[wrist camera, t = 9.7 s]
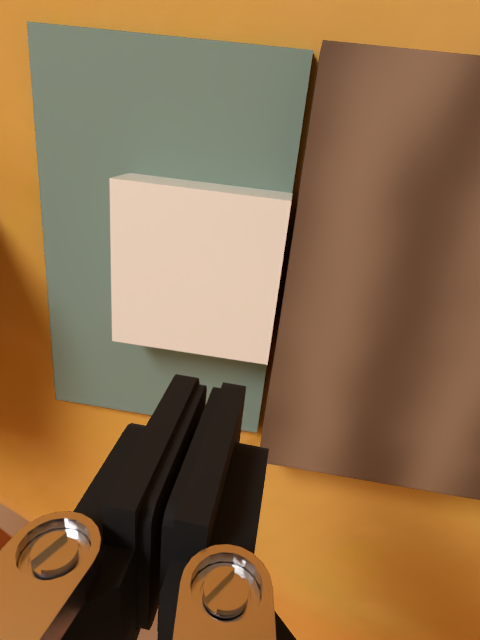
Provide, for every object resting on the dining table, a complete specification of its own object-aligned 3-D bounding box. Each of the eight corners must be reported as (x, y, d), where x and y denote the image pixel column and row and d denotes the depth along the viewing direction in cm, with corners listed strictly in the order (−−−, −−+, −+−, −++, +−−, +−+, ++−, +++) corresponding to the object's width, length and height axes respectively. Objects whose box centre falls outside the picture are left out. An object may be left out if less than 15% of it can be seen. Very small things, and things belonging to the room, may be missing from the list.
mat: (312, 52, 19) (313, 50, 19) (257, 427, 27) (256, 432, 27) (32, 24, 20) (26, 21, 20) (59, 394, 28) (55, 399, 28)
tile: (292, 193, 21) (291, 201, 19) (270, 342, 24) (267, 364, 22) (129, 172, 22) (109, 178, 19) (129, 321, 25) (111, 340, 23)
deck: (611, 82, 18) (666, 73, 16) (463, 461, 26) (481, 500, 24) (320, 52, 19) (323, 40, 16) (262, 428, 27) (258, 461, 25)
